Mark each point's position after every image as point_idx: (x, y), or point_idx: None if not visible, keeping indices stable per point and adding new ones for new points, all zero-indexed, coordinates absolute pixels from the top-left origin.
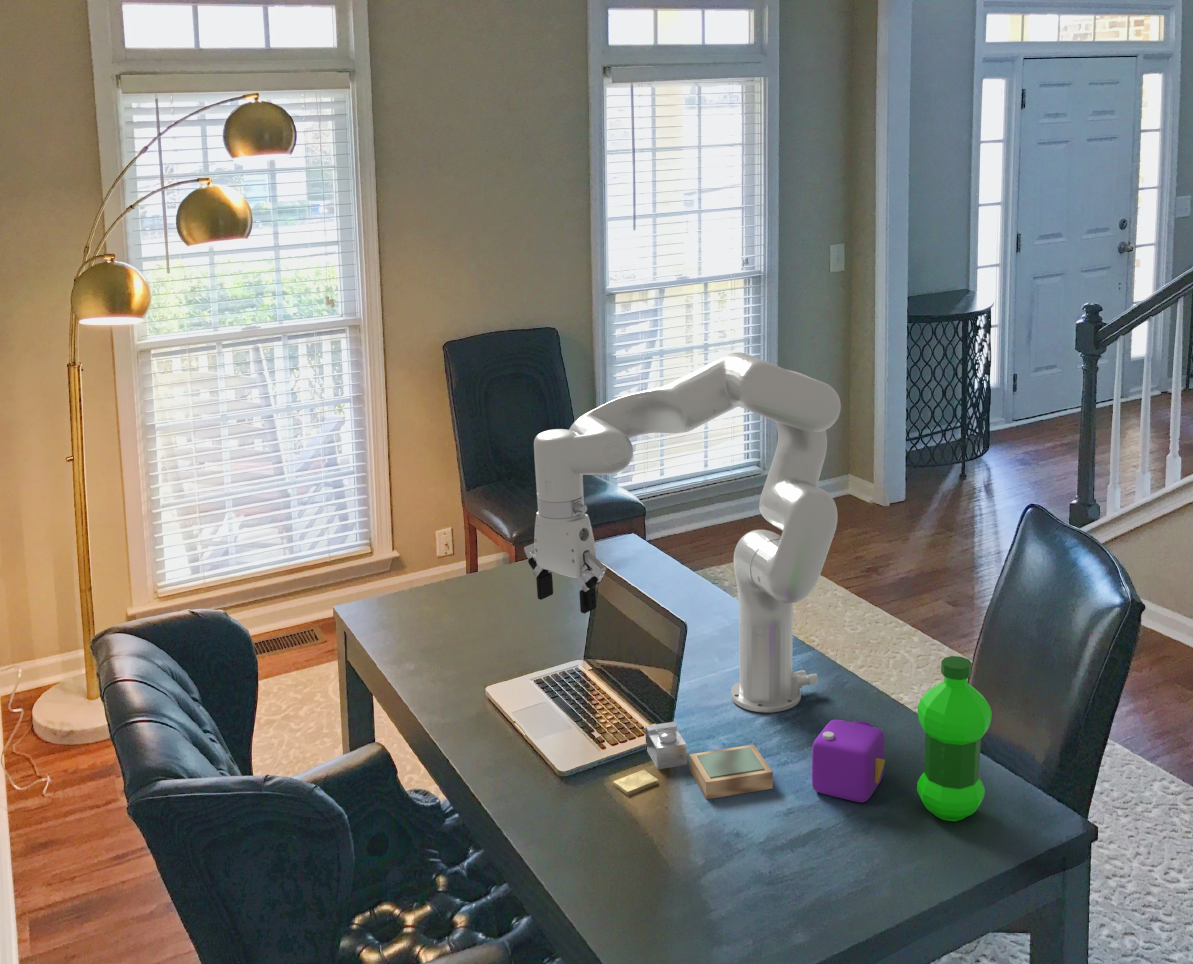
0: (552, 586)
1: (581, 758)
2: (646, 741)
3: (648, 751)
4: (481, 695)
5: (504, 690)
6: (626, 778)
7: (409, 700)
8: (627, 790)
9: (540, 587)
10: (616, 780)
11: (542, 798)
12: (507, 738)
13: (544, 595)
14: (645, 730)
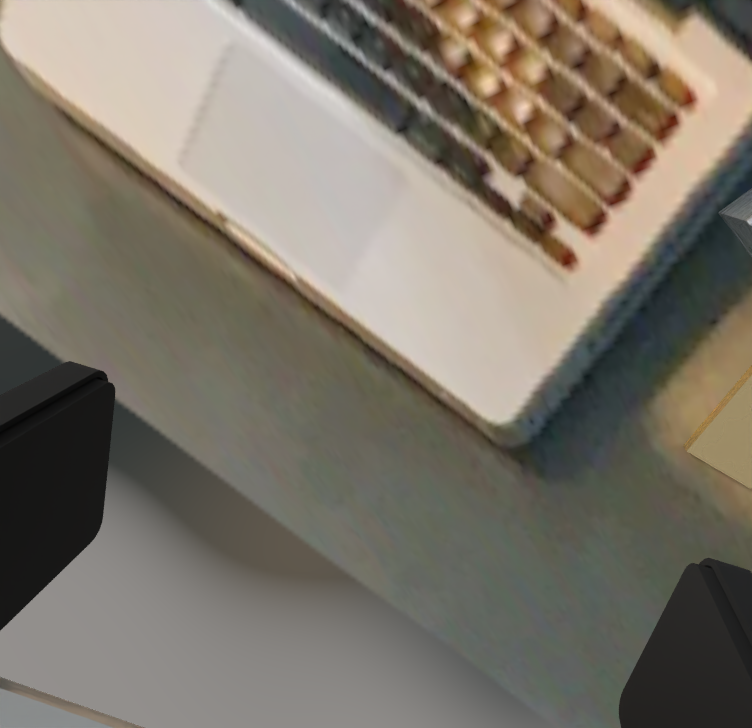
0: (57, 420)
1: (527, 344)
2: (736, 223)
3: (739, 238)
4: (25, 99)
5: (63, 28)
6: (722, 424)
7: None
8: (748, 482)
9: (8, 620)
10: (695, 444)
11: (514, 555)
12: (261, 317)
13: (87, 506)
14: (745, 221)
